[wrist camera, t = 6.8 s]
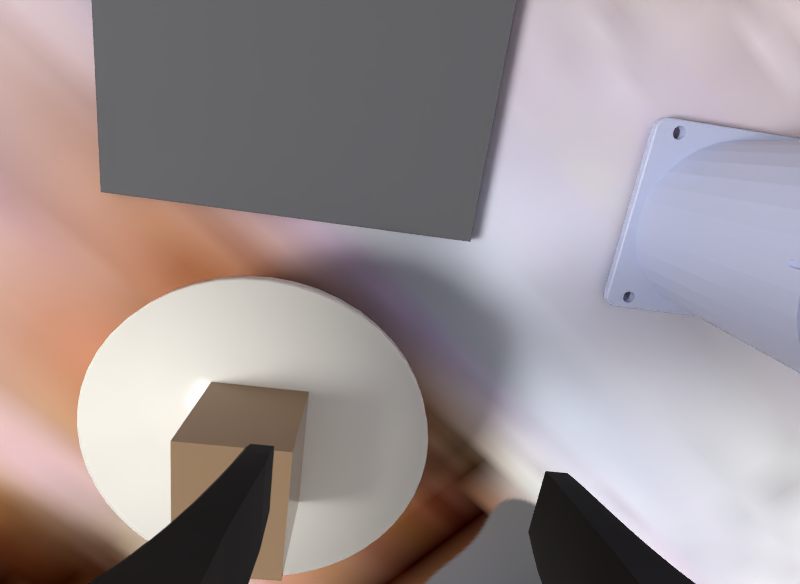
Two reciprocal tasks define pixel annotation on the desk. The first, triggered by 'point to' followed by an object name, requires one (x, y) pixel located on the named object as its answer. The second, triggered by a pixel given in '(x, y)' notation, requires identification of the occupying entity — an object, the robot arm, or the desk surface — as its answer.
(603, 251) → the desk surface
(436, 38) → the mat
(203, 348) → the lid
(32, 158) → the desk surface
